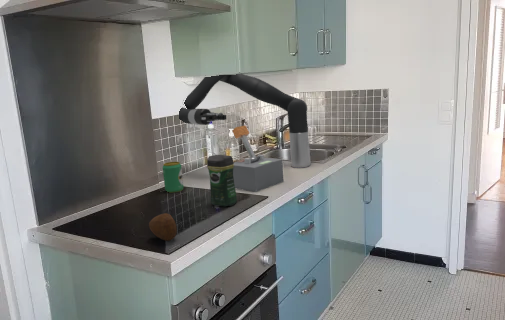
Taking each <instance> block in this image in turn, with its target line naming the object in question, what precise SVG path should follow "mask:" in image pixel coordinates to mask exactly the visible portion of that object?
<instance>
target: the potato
mask: <svg viewBox="0 0 505 320" xmlns="http://www.w3.org/2000/svg"><path fill="white" fill-rule="evenodd" d="M148 227H149V230H150V231H151V232H152V233H153V235H154V236H156V238H159V239H161V240H162V241H166V242H170V241H172V240H174V239H175V237H176V236H177V234H178V233H177V232H178V231H177V223H176V221H175V219H174V218H173V217H172V215H171V214H170V213H167V212H165V213H161V214H158V215H156V216H154V217H153V218H152V219H150V221H149V222H148Z"/></svg>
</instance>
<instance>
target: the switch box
mask: <svg viewBox="0 0 505 320" xmlns="http://www.w3.org/2000/svg"><path fill="white" fill-rule="evenodd" d="M257 157H259V158H260V160H259V161H255V162H252V163H251V159H250V157H245V158H244V159H241V160H237V161H233V162H234V168H233V177H234V184H235V189H236V188H237V189H238V190H242V189H243V191H248V190H249V192H253V193H257V192H260V191H262V190H265V189H267V188H270V187H273V186H277V185H279V184H282V183H284V182H285V181H284V166H283V159H282V158H281V159H280V158H272V157H265V156H264V154H257ZM237 189H236V190H237Z"/></svg>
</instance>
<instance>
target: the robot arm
mask: <svg viewBox="0 0 505 320" xmlns="http://www.w3.org/2000/svg"><path fill="white" fill-rule="evenodd" d="M219 82H222V83H226V84H228V85H231V86H233V87H235V88H238V89H239V90H240V91H242V92H244V93H245V94H247V95H249V96H250V97H252V98H254V99H256V100H259V101H260V102H264V103H266V104H269V105H273V106H276V107H279V108H281V109H282V110H284V111H286V112H287V125H288V131H289V148H290V165H291V167H293V168H297V169H298V168H299V169H300V168H307V167H310V166H311V146H310V143H309V141H310V140H309V125H308V124H309V123H308V113H307V112H308V105H307V103H306V101H304V100H303V99H301V98H297V97H295V96H292V95H289V94H287V93H284V92H283V91H282V90H280V89H278V88H277V87H275V86H274V85H271V84H270V83H268V82H266V81H264V80H262V79H260V78H257V77H253V76H251V75H248V74H244V73H241V74H236V75H219V76H211V77H205V76H204V77H203V79H201V81H200V82H199V83H198V85H197V86H195V88H194V89H192V91H191V92H190V93H189V94H188V95H187V96H186V97H187V98H186V97H185V98H186V100H185V102H184V104H185V106H186V108H187V109H186V108H185V106H184V107H183V106H181V107H182V108H181V109H180V111H179V119H180V120H182V121H183V122H185V123H186V124H189V125H192V124H193V125H199V126H200V125H201V126H207V125H209V124H211V122H217V121H226V120H227V115H226V114H224V113H222V112H214V111H213V112H211V110H210V109H208V108H198V106H199V105H200V104H201V103H202V102H203V101H204V100H206V98H207V96H208V94H209V93H210V91H211V90H212V89H213V87H215V85H216V84H218V83H219ZM184 104H183V105H184Z"/></svg>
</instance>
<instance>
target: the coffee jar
mask: <svg viewBox="0 0 505 320" xmlns="http://www.w3.org/2000/svg"><path fill="white" fill-rule="evenodd" d="M206 161H207V163H206V164H207V166H206V167H207V170H208V175H209V185H210V188H209V189H210V190H209V191H210V195H209V196H210V203H211V204H212V205H213V206H218V207H229V206H234V205H235V204H236V203H237V201H238V198H237V197H238V196H237V191H236V190H237V189H236V188H235V184H234V177H233V168H234V162H235V161H234V157H233V156H232V155H227V154H226V155H224V154H214V155H209V156H208V158H207V160H206Z"/></svg>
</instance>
